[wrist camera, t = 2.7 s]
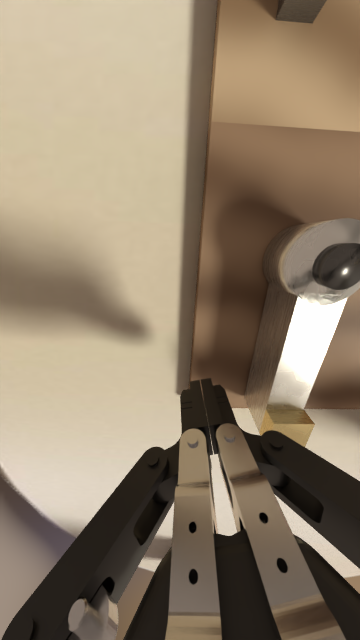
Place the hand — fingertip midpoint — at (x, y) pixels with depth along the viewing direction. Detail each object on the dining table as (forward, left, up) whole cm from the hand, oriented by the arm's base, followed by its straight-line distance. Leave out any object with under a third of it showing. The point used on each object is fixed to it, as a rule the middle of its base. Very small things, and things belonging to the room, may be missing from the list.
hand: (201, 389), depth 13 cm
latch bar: (-3, +6, -3) cm, 8 cm away
